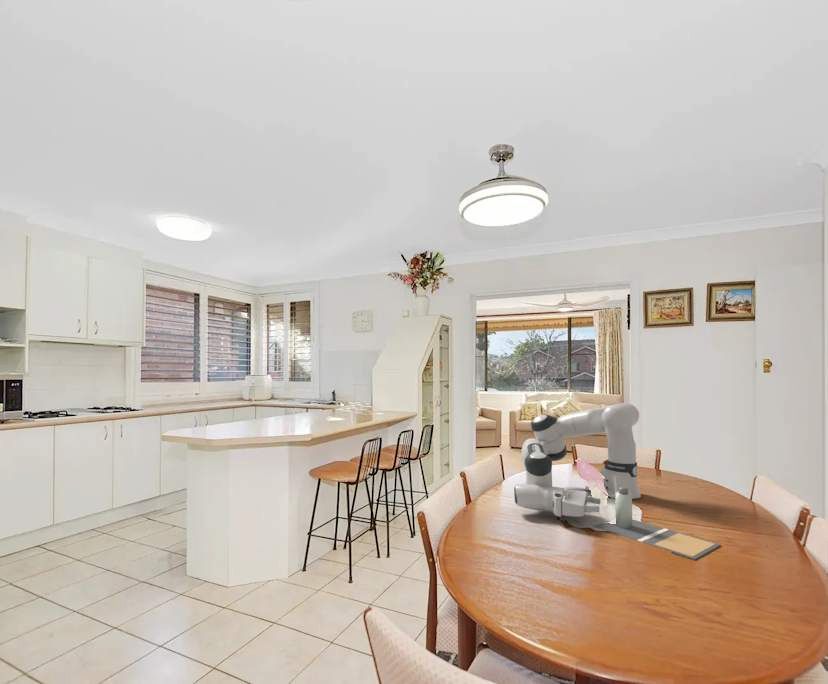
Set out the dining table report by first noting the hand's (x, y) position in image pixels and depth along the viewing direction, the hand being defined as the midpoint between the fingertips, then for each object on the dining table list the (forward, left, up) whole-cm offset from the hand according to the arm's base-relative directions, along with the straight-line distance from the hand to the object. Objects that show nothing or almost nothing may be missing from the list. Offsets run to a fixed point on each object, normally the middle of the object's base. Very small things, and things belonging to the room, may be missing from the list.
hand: (600, 505), depth 159 cm
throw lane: (+16, +4, -7) cm, 18 cm away
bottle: (+6, +4, -6) cm, 10 cm away
